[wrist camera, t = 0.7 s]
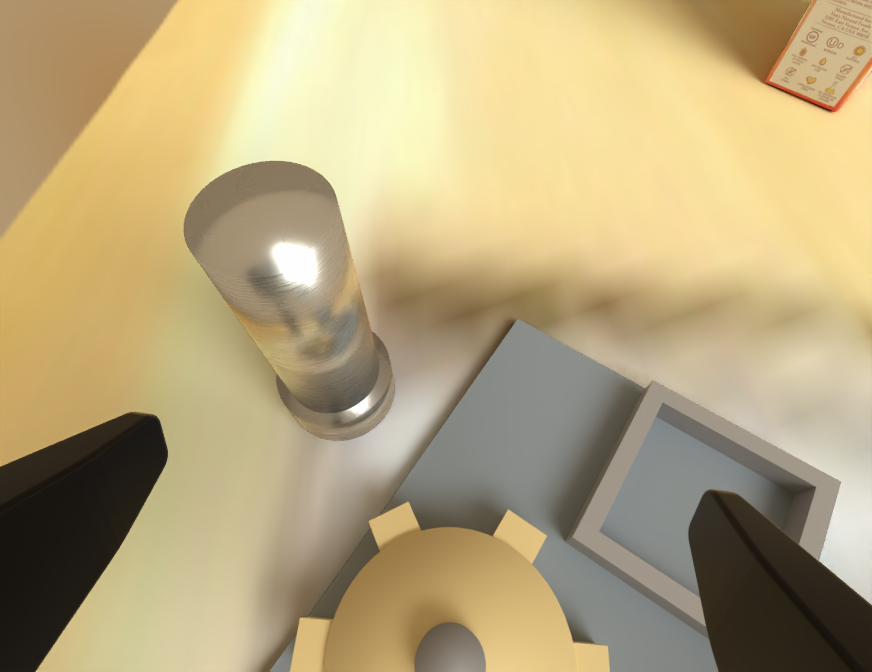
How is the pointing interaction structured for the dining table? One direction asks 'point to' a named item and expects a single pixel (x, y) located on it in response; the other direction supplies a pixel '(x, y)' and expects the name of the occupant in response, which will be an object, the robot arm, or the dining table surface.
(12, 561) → the robot arm
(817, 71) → the cracker box
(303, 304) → the chrome flanged cylinder
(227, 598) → the dining table surface
